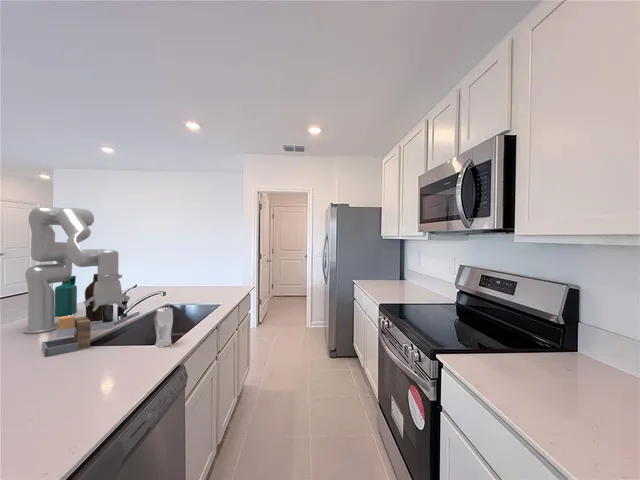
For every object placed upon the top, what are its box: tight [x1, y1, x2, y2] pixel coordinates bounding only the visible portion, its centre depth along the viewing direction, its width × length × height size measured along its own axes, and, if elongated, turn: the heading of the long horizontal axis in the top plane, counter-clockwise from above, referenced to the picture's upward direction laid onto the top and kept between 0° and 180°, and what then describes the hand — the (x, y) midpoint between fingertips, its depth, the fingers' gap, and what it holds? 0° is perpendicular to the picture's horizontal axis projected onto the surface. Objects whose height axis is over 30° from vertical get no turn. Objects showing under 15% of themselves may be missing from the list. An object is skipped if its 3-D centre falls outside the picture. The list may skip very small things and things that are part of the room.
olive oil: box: [84, 273, 103, 322], centre depth 169 cm, size 11×11×25 cm
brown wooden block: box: [73, 315, 92, 351], centre depth 128 cm, size 10×4×11 cm, turn 47°
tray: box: [41, 336, 79, 358], centre depth 123 cm, size 11×10×3 cm
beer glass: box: [154, 307, 174, 347], centre depth 131 cm, size 7×7×15 cm
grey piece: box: [55, 304, 115, 339], centre depth 129 cm, size 4×19×10 cm, turn 137°
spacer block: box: [58, 315, 76, 330], centre depth 125 cm, size 4×4×4 cm
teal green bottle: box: [54, 275, 78, 317], centre depth 178 cm, size 10×8×22 cm
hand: (107, 317), depth 135 cm, fingers open, 8 cm apart
